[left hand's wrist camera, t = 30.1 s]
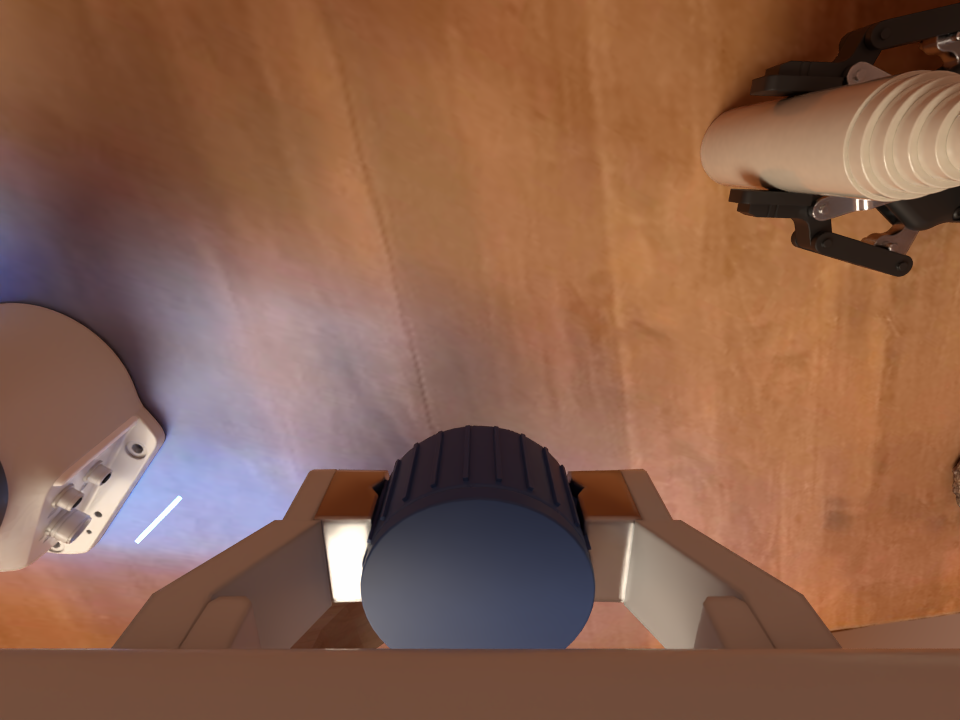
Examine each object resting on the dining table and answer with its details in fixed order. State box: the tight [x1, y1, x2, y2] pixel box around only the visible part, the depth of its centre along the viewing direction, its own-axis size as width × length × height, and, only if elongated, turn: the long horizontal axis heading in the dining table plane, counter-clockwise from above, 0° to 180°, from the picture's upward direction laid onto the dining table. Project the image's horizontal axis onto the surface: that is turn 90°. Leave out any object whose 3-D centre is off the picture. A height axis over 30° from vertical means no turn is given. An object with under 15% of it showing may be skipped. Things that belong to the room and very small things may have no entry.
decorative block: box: [290, 602, 384, 649], centre depth 38 cm, size 11×6×20 cm, turn 101°
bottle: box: [701, 70, 960, 202], centre depth 25 cm, size 5×5×21 cm
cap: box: [360, 425, 595, 649], centre depth 9 cm, size 4×4×2 cm
